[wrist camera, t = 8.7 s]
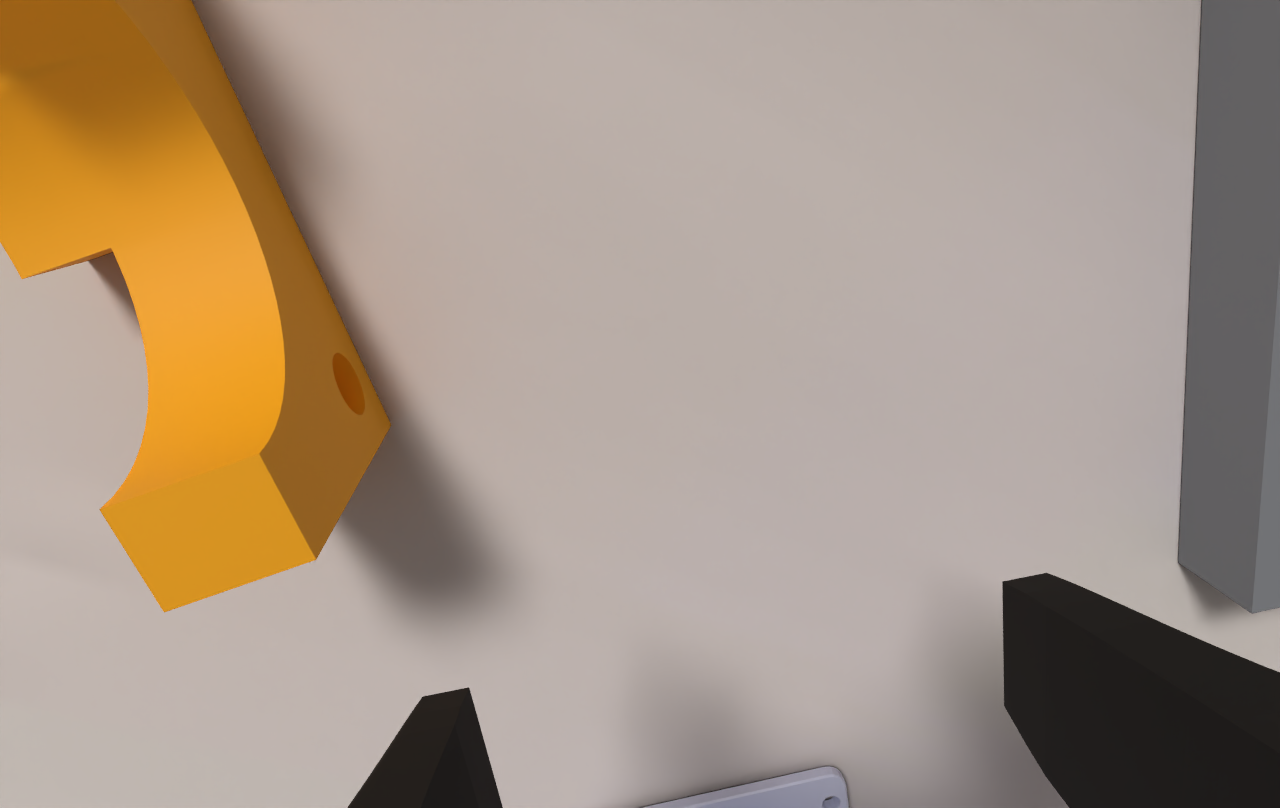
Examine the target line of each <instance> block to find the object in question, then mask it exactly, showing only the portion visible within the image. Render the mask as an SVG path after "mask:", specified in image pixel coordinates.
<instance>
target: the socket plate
mask: <svg viewBox="0 0 1280 808" xmlns="http://www.w3.org/2000/svg"><path fill="white" fill-rule="evenodd" d="M1178 563H1180V564H1181V565H1183V566H1184V567H1186V568H1187V569H1189V570H1190V571H1191V572H1193V573H1194V574H1196V575H1197V576H1199V577H1200V578H1201V579H1203V580H1204V581H1206V582H1207V583H1209V584H1210V585H1212V586H1213V587H1214V588H1216V589H1217V590H1219V591H1220V592H1222V593H1223V594H1224V595H1226V596H1227V597H1229V598H1230V599H1232V600H1233V601H1235V602H1236V603H1237V604H1239V605H1240V606H1242V607H1243V608H1245V609H1246V610H1247V611H1249V612H1250V613H1257V612H1261V611H1266V610H1270V609H1275V608H1279V607H1280V0H1202V17H1201V41H1200V64H1199V88H1198V111H1197V135H1196V158H1195V182H1194V205H1193V229H1192V252H1191V276H1190V299H1189V323H1188V346H1187V370H1186V393H1185V417H1184V440H1183V464H1182V487H1181V510H1180V534H1179V557H1178Z"/></svg>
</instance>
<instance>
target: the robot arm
mask: <svg viewBox="0 0 1280 808" xmlns="http://www.w3.org/2000/svg"><path fill="white" fill-rule="evenodd" d="M1003 645H1004V706H1005V708H1006V710H1007V712H1008V713H1009V715H1010V717H1011V719H1012V720H1013V722H1014V724H1015V726H1016V727H1017V729H1018V731H1019V733H1020V734H1021V736H1022V738H1023V739H1024V741H1025V743H1026V745H1027V746H1028V748H1029V750H1030V751H1031V753H1032V755H1033V756H1034V758H1035V759H1036V761H1037V763H1038V764H1039V766H1040V768H1041V769H1042V771H1043V773H1044V774H1045V776H1046V777H1047V778H1048V780H1049V781H1050V782H1051V784H1052V785H1053V787H1054V788H1055V789H1056V791H1057V792H1058V793H1059V795H1060V796H1061V797H1062V799H1063V800H1064V801H1065V802H1066V804H1067V805H1068V806H1069V808H1280V672H1277V671H1275V670H1272V669H1269V668H1267V667H1264V666H1262V665H1259V664H1257V663H1254V662H1252V661H1250V660H1247V659H1245V658H1242V657H1240V656H1237V655H1235V654H1233V653H1230V652H1228V651H1225V650H1223V649H1221V648H1218V647H1216V646H1214V645H1211V644H1209V643H1207V642H1204V641H1202V640H1200V639H1197V638H1195V637H1193V636H1191V635H1188V634H1186V633H1184V632H1181V631H1179V630H1177V629H1175V628H1172V627H1170V626H1168V625H1166V624H1163V623H1161V622H1159V621H1157V620H1154V619H1152V618H1150V617H1148V616H1146V615H1143V614H1141V613H1139V612H1137V611H1134V610H1132V609H1130V608H1128V607H1126V606H1123V605H1121V604H1119V603H1117V602H1114V601H1112V600H1110V599H1108V598H1106V597H1103V596H1101V595H1099V594H1097V593H1094V592H1092V591H1090V590H1087V589H1085V588H1083V587H1081V586H1078V585H1076V584H1074V583H1071V582H1069V581H1066V580H1064V579H1061V578H1059V577H1056V576H1053V575H1051V574H1048V573H1044V574H1039V575H1034V576H1029V577H1024V578H1019V579H1014V580H1009V581H1004V582H1003ZM830 796H834V797H833V798H831V799H829V800H825V799H826V798H828V797H830ZM348 808H503V807H502V804H501V800H500V796H499V793H498V789H497V786H496V782H495V779H494V775H493V771H492V768H491V764H490V761H489V757H488V754H487V750H486V746H485V743H484V739H483V736H482V732H481V729H480V725H479V721H478V718H477V714H476V711H475V707H474V703H473V700H472V696H471V693H470V689H469V688H464V689H459V690H454V691H449V692H444V693H439V694H434V695H429V696H424V697H422V699H421V700H420V701H419V703H418V704H417V705H416V707H415V708H414V710H413V711H412V713H411V714H410V716H409V717H408V719H407V720H406V722H405V723H404V725H403V726H402V728H401V729H400V731H399V732H398V734H397V735H396V737H395V738H394V740H393V741H392V743H391V744H390V746H389V747H388V749H387V750H386V752H385V753H384V755H383V756H382V758H381V759H380V761H379V762H378V764H377V765H376V767H375V768H374V770H373V771H372V773H371V774H370V776H369V777H368V779H367V780H366V782H365V783H364V785H363V786H362V788H361V789H360V790H359V792H358V793H357V795H356V796H355V798H354V799H353V800H352V802H351V803H350V805H349V806H348ZM643 808H849V803H848V795H847V787H846V783H845V781H844V778H843V776H842V774H841V772H840V771H839V770H838V769H837V768H834V767H831V766H830V767H821V768H816V769H812V770H807V771H803V772H799V773H794V774H790V775H785V776H781V777H776V778H772V779H767V780H763V781H758V782H754V783H750V784H745V785H741V786H736V787H732V788H727V789H723V790H718V791H714V792H709V793H705V794H700V795H696V796H692V797H687V798H683V799H678V800H674V801H669V802H665V803H660V804H656V805H651V806H647V807H643Z"/></svg>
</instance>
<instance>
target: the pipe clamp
mask: <svg viewBox="0 0 1280 808" xmlns="http://www.w3.org/2000/svg"><path fill="white" fill-rule="evenodd" d="M0 242H1V244H2V246H3V247H4V249H5V251H6V252H7V254H8V256H9V257H10V259H11V261H12V262H13V264H14V266H15V267H16V269H17V271H18V273H19V275H20V277H21V279H24V278H28V277H31V276H35V275H38V274H42V273H46V272H49V271H53V270H56V269H60V268H64V267H67V266H71V265H74V264H78V263H82V262H85V261H89V260H91V259H94V258H97V257H100V256H103V255H106V254H108V253H111V252H113V253H114V255H115V257H116V260H117V262H118V264H119V267H120V269H121V272H122V274H123V276H124V279H125V281H126V284H127V287H128V289H129V292H130V295H131V298H132V301H133V304H134V307H135V311H136V314H137V318H138V321H139V325H140V329H141V334H142V338H143V343H144V348H145V355H146V362H147V371H148V412H147V419H146V426H145V431H144V435H143V439H142V443H141V447H140V450H139V452H138V455H137V458H136V460H135V463H134V465H133V467H132V469H131V471H130V472H129V474H128V476H127V478H126V480H125V481H124V483H123V484H122V485H121V487H120V488H119V489H118V491H117V492H116V493H115V495H114V496H113V497H112V498H111V499H110V500H109V501H108V502H107V503H106V504H105V505H104V506H103V507H102V508H101V509H100V511H101V513H102V514H103V516H104V518H105V519H106V521H107V522H108V524H109V525H110V527H111V529H112V530H113V532H114V533H115V535H116V537H117V538H118V540H119V541H120V543H121V545H122V546H123V548H124V549H125V551H126V553H127V554H128V556H129V557H130V559H131V560H132V562H133V564H134V565H135V567H136V568H137V570H138V572H139V573H140V575H141V576H142V578H143V580H144V581H145V583H146V584H147V586H148V587H149V589H150V591H151V592H152V594H153V595H154V597H155V599H156V600H157V602H158V603H159V605H160V607H161V608H162V610H163V611H164V612H167V611H170V610H172V609H175V608H178V607H181V606H184V605H187V604H190V603H193V602H195V601H198V600H201V599H204V598H207V597H210V596H213V595H216V594H219V593H221V592H224V591H227V590H230V589H233V588H236V587H239V586H242V585H244V584H247V583H250V582H253V581H256V580H259V579H262V578H265V577H268V576H270V575H273V574H276V573H279V572H282V571H285V570H288V569H291V568H293V567H296V566H299V565H302V564H305V563H308V562H311V561H314V560H316V559H317V557H318V555H319V554H320V552H321V550H322V548H323V546H324V545H325V543H326V541H327V539H328V537H329V536H330V534H331V532H332V530H333V528H334V527H335V525H336V523H337V521H338V520H339V518H340V516H341V514H342V512H343V511H344V509H345V507H346V505H347V503H348V502H349V500H350V498H351V496H352V494H353V493H354V491H355V489H356V487H357V486H358V484H359V482H360V480H361V478H362V477H363V475H364V473H365V471H366V469H367V468H368V466H369V464H370V462H371V460H372V459H373V457H374V455H375V453H376V452H377V450H378V448H379V446H380V444H381V443H382V441H383V439H384V437H385V435H386V434H387V432H388V430H389V428H390V426H391V423H390V421H389V419H388V417H387V415H386V413H385V411H384V408H383V406H382V404H381V402H380V400H379V398H378V396H377V394H376V391H375V389H374V387H373V385H372V383H371V381H370V379H369V377H368V374H367V372H366V370H365V368H364V366H363V364H362V362H361V360H360V357H359V355H358V353H357V351H356V349H355V347H354V345H353V343H352V340H351V338H350V336H349V334H348V332H347V330H346V328H345V326H344V323H343V321H342V319H341V317H340V315H339V313H338V311H337V309H336V306H335V304H334V302H333V300H332V298H331V296H330V294H329V292H328V290H327V287H326V285H325V283H324V281H323V279H322V277H321V275H320V273H319V270H318V268H317V266H316V264H315V262H314V260H313V258H312V256H311V253H310V251H309V249H308V247H307V245H306V243H305V241H304V239H303V236H302V234H301V232H300V230H299V228H298V226H297V224H296V222H295V219H294V217H293V215H292V213H291V211H290V209H289V207H288V205H287V202H286V200H285V198H284V196H283V194H282V192H281V190H280V188H279V185H278V183H277V181H276V179H275V177H274V175H273V173H272V171H271V168H270V166H269V164H268V162H267V160H266V158H265V156H264V154H263V151H262V149H261V147H260V145H259V143H258V141H257V139H256V137H255V134H254V132H253V130H252V128H251V126H250V124H249V122H248V120H247V118H246V115H245V113H244V111H243V109H242V107H241V105H240V103H239V101H238V98H237V96H236V94H235V92H234V90H233V88H232V86H231V84H230V81H229V79H228V77H227V75H226V73H225V71H224V69H223V67H222V64H221V62H220V60H219V58H218V56H217V54H216V52H215V50H214V47H213V45H212V43H211V41H210V39H209V37H208V35H207V33H206V30H205V28H204V26H203V24H202V22H201V20H200V18H199V16H198V13H197V11H196V9H195V7H194V5H193V3H192V1H191V0H0Z"/></svg>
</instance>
